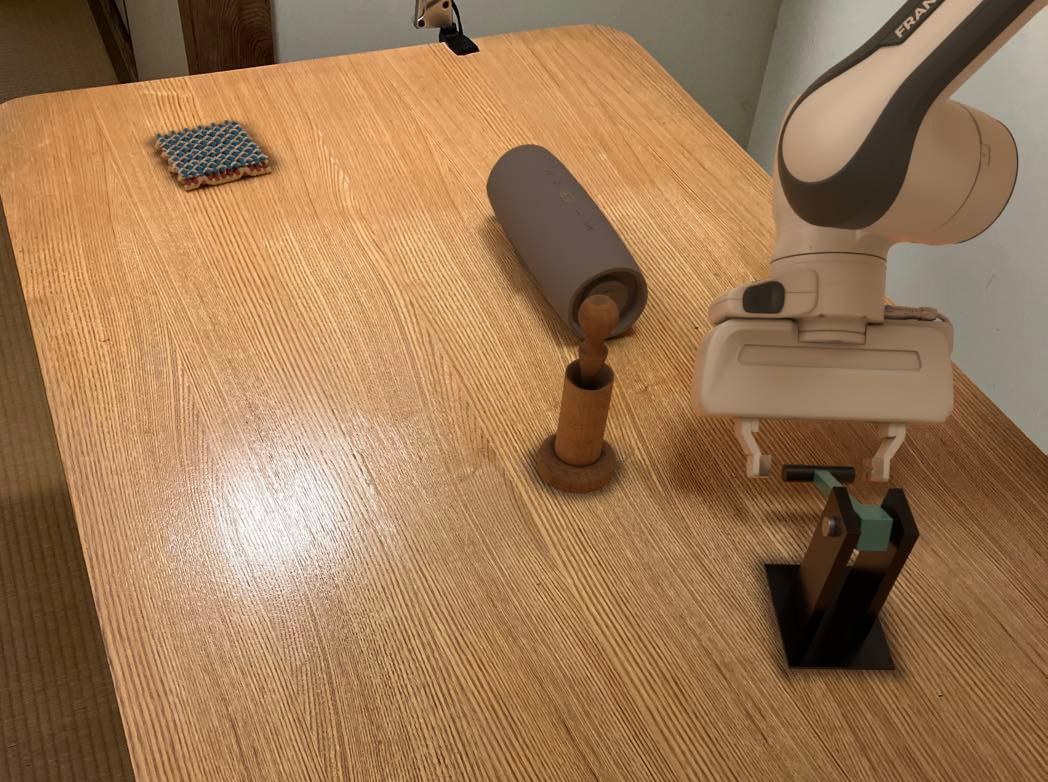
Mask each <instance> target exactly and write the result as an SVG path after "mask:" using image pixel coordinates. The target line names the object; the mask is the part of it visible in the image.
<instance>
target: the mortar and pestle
mask: <svg viewBox="0 0 1048 782" xmlns="http://www.w3.org/2000/svg"><path fill="white" fill-rule="evenodd" d="M578 320H579V323H580V326H581V328H582V330H583V332H584V334H585V335H586V339H584V341H583V342H581V343H580V344H579V345H578V349H577V351H578V354H577V355H578V358H577V359H575V360H572V361H571V362H570V363H569V364H567V365H566V368H565V371H564V379H563V386H562V394H561V403H560V408H559V416H558V422H557V429H556V432H555V433H552V434H550V435H549V436H548V437H546V438H545V440H543V442H542V443H541V444H540V445H539V446H540V447H539V449H538V454H537V461H536V468H537V472H538V474H539V476H540V478H541V479H542V480H543V481H544V482H545V483H546V484H547V485H549V486H550V487H553V488H554V489H556V490H559V491H562V492H565V493H571V494H586V493H591V492H595V491H597V490H600V489H602V488H604V487H605V486H606V485H608V483H609V482H611V480H612V479H613V476H614V472H615V467H616V454H615V451H614V449H613V448H612V446H611V444H609V442H608V441H607V440H605V439H604V438H605V434H606V433H605V432H606V427H607V422H608V416H609V410H610V405H611V400H612V394H613V388H614V382H615V373H614V370H613V369H612V367H611V366H610V365H609V364H608V363H607V362H606V361H607V359H608V355H609V348H608V347H607V345H606V344H605V343H604V342H605V340H606V339H607V338H606V337H607V336H608V335H609V334H610V333H611V332H612V331H613V330H614V329H615V327H616V326H617V324H618V321H619V310H618V307H617V305H616V303H615V302H614V301H613V300H612V299H611V298H610V297H608V296H605V295H593V296H590V297H589V298H587V299H586V300H585V301H584V302H583V303H582V305H581V307H580V309H579V313H578ZM605 338H606V339H605Z"/></svg>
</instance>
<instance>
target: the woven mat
mask: <svg viewBox="0 0 1048 782" xmlns="http://www.w3.org/2000/svg"><path fill="white" fill-rule="evenodd" d="M223 121H224V124H222V123H218V125H216V123H215V122H211V123H210V126H211V127H212V128H211V127H210V126H208V125H207V126H204V128H203V126H202V125H201V124H199V125H197V128H198V129H195V128H192V129H191V130H189V128H188V127H185V128H183V131H184V132H185V133H184V132H182V131H177V134H176V132H175V130H170V134H171V135H172V136H171V135H169V134H164V136H163V137H162V135H161V133H159V132H158V133H156V137H157V138H158V140H157V141H156V143H155V145H154V148H155V149H156V150H158V151H161V155H160V157H161V158H162V159H164V160H165V161H167V164H168V166H167V170H168V173H173V174H178V175H177V181H178V182H179V183H181V184H182V185H183V188H184V190H185V192H188V191H190V190H195V189H198V188H200V186H201V185H202V186H204V185H210V186H211V185H213V186H215V185H221V184H224V183H225V184H226V183H229V182H234V180H235V181H237V180H238V179H241V177H246V176H248V175H249V176H253V177H256V175H258V176H261V175H260V174H262V175H266V174H265V173H267V174H270V173H269V172H271V173H272V172H273V170H272V167H271V166H268V164H269V160H268V158H269V156H268V155H266V154H264V153H263V152H262V149H259V148H260V145H257V143H255V142H254V141H253V138H252V137H250V135H249V134H247V132H246V131H245V129H244V128H242V125H241V124H240V123H238V121H234V120H232V121H231V123H230V122H229V120H228V119H225V120H223ZM225 125H226V126H225ZM198 130H199V131H198ZM187 190H188V191H187Z"/></svg>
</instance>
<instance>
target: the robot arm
mask: <svg viewBox="0 0 1048 782" xmlns="http://www.w3.org/2000/svg"><path fill="white" fill-rule="evenodd" d="M1047 6H1048V0H906V1H905V2H904V3H903V4H902V6H901V7H900V8H899V9H898V10H897V11H895V13H894V14H893V15H892V16H891V17H890V18H888V20H887V21H886V22H885V23H884V24H883V25H882V26H881V27H880V28H879V29H878V30H877V31H876V32H875V33H874V34H873V35H871V37H870V38H869V39H868V40H866V41H865V42H864V43H862V45H860V46H859V47H858V48H857V49H855V50H854V51H853V52H851V53H850V54H849V55H847V56H846V57H844V58H843V59H842V60H840V61H838V62H837V63H836V64H834V65H833V66H832V67H830V68H828V69H827V70H826V71H825V72H823V73H822V74H821V75H820V76H819V77H817V78H816V79H815V80H814V81H813V82H812V83H811V84H810V85H809V86H808V87H807V88H806V89H805V90H804V91H803V92H802V93H800V94H799V95H798V96H796V97H795V98H794V99H793V100H792V101H791V103H790V105H789V106H788V107H787V109H786V112H785V114H784V116H783V120H782V122H781V125H780V130H779V134H778V138H777V142H776V148H775V155H774V164H773V175H772V189H771V190H772V191H771V215H772V218H773V222H774V223H773V224H774V227H775V239H774V245H773V248H772V251H771V254H770V257H769V261H768V278H764V279H758V280H754V281H751V282H748V283H745V284H742V285H738V286H734V287H732V288H730V289H728V290H725V291H724V292H722V293H721V294H718V295H717V296H716V297H715V298H713V299H712V301H711V302H710V303H709V304H708V307H707V320H708V323H709V324H710V325H711V326H713V328H710V329H709V330H708V331H706V332H705V334H703V336H702V337H701V339H700V341H699V343H698V346H697V349H696V353H695V358H694V364H693V369H692V375H691V386H690V407H691V408H692V409H693V411H694V412H695V413H696V415H697V416H698V417H699V418H703V419H704V418H705V419H734V426H733V434H734V436H735V438H736V440H737V441H738V444H739V445H740V447H741V449H742V451H743V453H744V455H745V456H746V478H753V479H759V478H760V479H769V478H771V475H772V468H771V465H772V463H773V455H770V454H762V451H761V450H760V447H759V445H758V443H757V441H756V439H755V437H754V435H753V434H755V433H758V432H759V431H760V420H762V421H763V420H764V421H765V420H766V421H789V422H790V421H795V422H823V423H851V424H878V425H877V437H878V438H880V439H883V441H882V443H881V445H880V446H879V447H878V450H877V451H876V453H875V455H874V456H873V457H872V458H863V461H862V468H863V472H862V480H863V481H864V482H888V481H889V479H890V469H891V468H890V467H891V460H892V459H893V458H894V456H895V455H896V453H897V451H898V450H899V448H900V446H902V444H903V443H904V441H905V439H906V437H907V425H912V426H913V425H915V426H932V425H933V426H934V425H940V424H943V423H944V422H945V421H946V420H947V419H948V418H949V417H950V416H951V414H952V412H953V410H954V399H955V397H954V377H953V376H954V375H953V367H952V366H953V365H952V358H951V356H952V354H953V351H954V339H955V337H954V336H955V331H954V330H955V328H954V325H953V323H952V322H951V321H950V319H949V318H948V317H947V316H946V315H944V314H942V313H940V312H938V309H937V308H935V307H931V306H919V307H913V306H912V307H911V306H905V305H893V304H886V286H887V285H886V284H887V267H888V266H887V263H888V253H889V251H890V249H891V248H892V247H893V246H894V245H897V244H901V243H902V244H903V243H912V244H920V245H926V246H931V247H932V246H934V247H935V246H947V245H957V244H962V243H966V242H968V241H971V240H973V239H976V238H977V237H978V236H980V235H981V234H983V233H985V231H987V230H988V229H989V228H990V227H991V226H992V225H993V224H995V222H996V221H997V220H998V218H999V217H1000V216H1001V215H1002V213H1003V212H1004V210H1005V209H1006V207H1007V206H1008V204H1009V202H1010V200H1011V198H1012V196H1013V193H1014V190H1015V188H1016V183H1017V180H1018V174H1019V151H1018V146H1017V143H1016V141H1015V138H1014V136H1013V134H1012V132H1011V131H1010V129H1009V128H1008V127H1007V126H1006V125H1005V124H1004V123H1002V122H1001V121H1000V120H998V119H996V118H994V117H993V116H991V115H990V114H988V113H986V112H984V111H982V110H981V109H980V110H979V109H977V108H975V107H972V106H970V105H968V104H965V103H962V102H960V101H957V100H954V99H951V98H950V97H952V96H953V95H954V94H955V93H956V92H957V91H958V90H959V89H960V88H961V87H962V86H963V85H964V84H965V83H966V82H967V81H968V80H970V79H971V78H972V77H973V75H975V73H977V72H978V71H980V69H981V68H982V67H983V66H984V65H985V64H986V63H987V62H988V61H989V60H990V59H991V58H993V56H994V55H996V53H998V52H999V51H1000V50H1001V49H1002V48H1003V47H1004V46H1005V45H1006V44H1007V43H1008V42H1009V41H1010V40H1011V39H1012V38H1013V37H1014V36H1015V35H1017V33H1018V32H1019V31H1021V30H1022V29H1023V28H1024V27H1025V26H1026V24H1028V23H1029V22H1030V21H1031V20H1032V19H1033V18H1034V17H1035V16H1036V15H1037V14H1039V13H1040V12H1041V11H1042V10H1044V9H1045V7H1047ZM937 319H939V320H937ZM936 320H937V321H936Z"/></svg>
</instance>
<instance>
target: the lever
mask: <svg viewBox="0 0 1048 782" xmlns="http://www.w3.org/2000/svg"><path fill="white" fill-rule="evenodd" d="M780 478H781V481H782V482H783V483H796V484H798V483H799V484H814V486H815V487H816V488H817V489H818V490H819V491H820V492H821V493H822V494H823V495H824V497H825V498H827V500H828V497H829V495H830V492H831V490H832V488H833V486H839V487H844V486H843V485H853V484H854V483H855V480H856V469H855V467H854V465H839V464H838V465H832V464H827V465H826V464H802V463H801V464H800V463H799V464H797V463H784V464H782V466H781V470H780ZM848 493H849V496H850V499H851V502H852V505H853V508H854V511H855V515H856V518H857V521H858V524H859V527H860V530H861V535H860V538H859V540H858V542H857V544H856V546H855V549H854V551H856V552H857V551H858V552H859V551H887V548H888V543H889V538H890V534H891V529H892V524H893V519H892V518H891V517H890V516H889V515H888V514H887V513H886V512H885V511H884V510H883V509H882V508H881V507H880V506H881V505H879V504H860V503H859V502H858V500H857V499H856V498H855V497H854V496H853V494H851V493H850V492H849V491H848Z"/></svg>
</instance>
